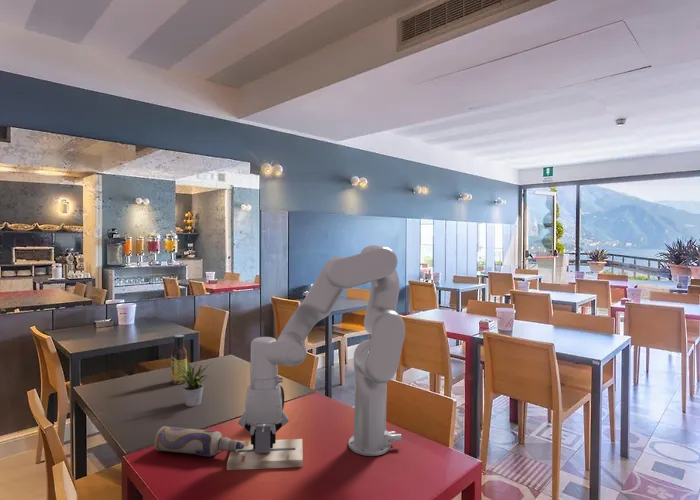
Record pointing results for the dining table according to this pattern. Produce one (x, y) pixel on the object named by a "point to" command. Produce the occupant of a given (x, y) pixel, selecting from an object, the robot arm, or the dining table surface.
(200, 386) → the house plant
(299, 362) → the robot arm
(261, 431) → the fader slider
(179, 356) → the sauce bottle
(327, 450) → the dining table surface
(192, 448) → the decorative bottle
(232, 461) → the fader board
